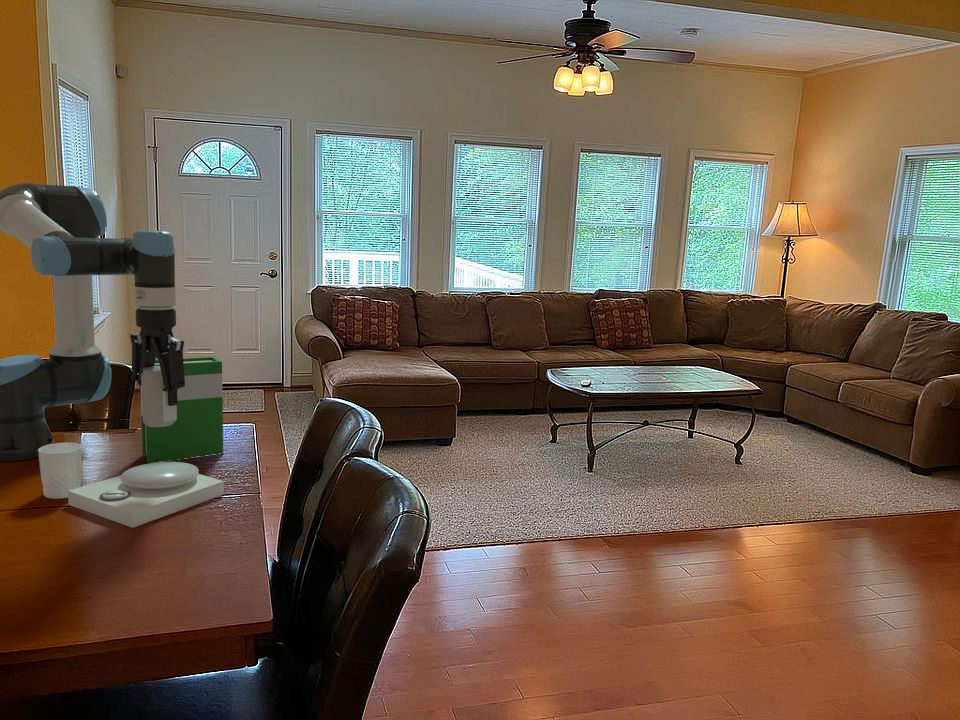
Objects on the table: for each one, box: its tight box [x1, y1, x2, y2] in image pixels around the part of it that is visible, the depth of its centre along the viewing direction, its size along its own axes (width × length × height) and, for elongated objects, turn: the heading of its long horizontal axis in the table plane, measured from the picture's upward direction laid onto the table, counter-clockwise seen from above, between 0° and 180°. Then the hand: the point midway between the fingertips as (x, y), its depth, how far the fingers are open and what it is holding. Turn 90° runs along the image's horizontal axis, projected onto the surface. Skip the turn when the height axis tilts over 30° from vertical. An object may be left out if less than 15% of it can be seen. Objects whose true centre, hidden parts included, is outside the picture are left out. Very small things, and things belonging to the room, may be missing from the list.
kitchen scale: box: [68, 461, 225, 529], centre depth 151 cm, size 20×22×5 cm
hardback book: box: [139, 356, 224, 464], centre depth 179 cm, size 18×7×24 cm, turn 124°
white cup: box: [38, 442, 83, 500], centre depth 152 cm, size 8×8×10 cm
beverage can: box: [141, 366, 176, 427], centre depth 150 cm, size 6×6×12 cm
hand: (159, 417), depth 151 cm, fingers closed on beverage can, 6 cm apart
